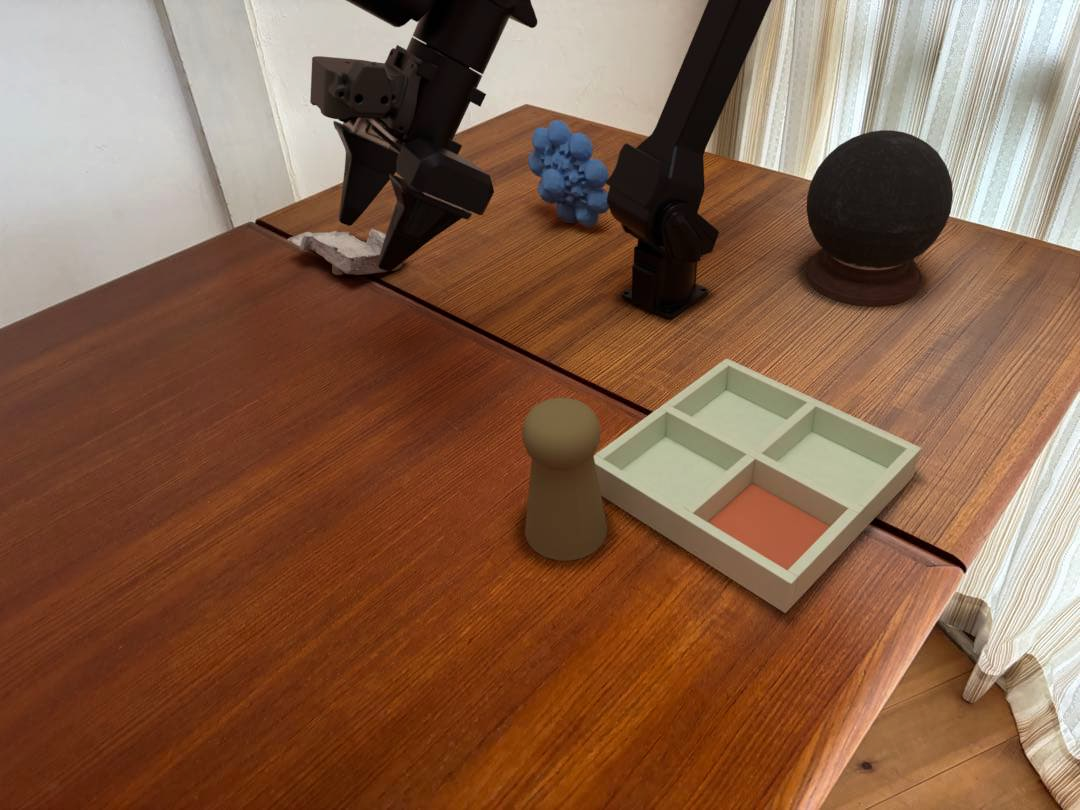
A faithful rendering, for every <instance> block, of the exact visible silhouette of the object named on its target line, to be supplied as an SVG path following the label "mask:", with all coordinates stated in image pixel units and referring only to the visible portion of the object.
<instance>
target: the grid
mask: <svg viewBox="0 0 1080 810" xmlns="http://www.w3.org/2000/svg"><path fill="white" fill-rule="evenodd" d="M921 451H922V447H921V446H919V445H917V444H914V443H912V442H910V441H907V440H906V439H903V438H901V437H899V436H896V435H895V434H892V433H890V432H888V431H886V430H884V429H881V428H879V427H877V426H875V425H873V424H870V423H868V422H866V421H864V420H862V419H860V418H858V417H855V416H853V415H852V414H849V413H846V412H845V411H843V410H840V409H838V408H836V407H834V406H831V405H829V404H828V403H825V402H822V401H820V400H818V399H816V398H814V397H812V396H810V395H808V394H805V393H803V392H801V391H799V390H796V389H795V388H792V387H791V386H788V385H786V384H783V383H781V382H779V381H777V380H774V379H773V378H770V377H768V376H766V375H764V374H762V373H760V372H758V371H755V370H753V369H750V368H749V367H746V366H745V365H742V364H740V363H738V362H735V361H733V360H731V359H729V358H725V359H724V360H722V361H721V362H719V363H717V364H716V365H715V366H713V368H711V369H709V370H708V371H707V372H706V373H704V374H702V375H701V376H700V377H699V378H698V379H696V380H695V381H693V382H692V383H691V384H690V385H688V386H687V387H685V388H684V389H683V390H681V391H679V392H678V393H677V394H675V395H674V396H673V397H671V398H670V399H669V400H667V401H666V402H665V403H663V404H662V405H660V406H659V407H658V408H657V409H655V410H654V411H652V412H651V413H650V414H648V415H647V416H646V417H644V418H643V419H641V420H640V421H638V422H637V423H636V424H635V425H633V426H631V428H629V429H628V430H626V431H625V432H624V433H622V434H621V435H620V436H618V437H616V438H615V439H614V440H612V441H611V442H610V443H608V444H607V445H606V446H604V447H603V448H602V449H601V450H599V451H598V452H597V453H595V454H594V461H595V466H596V471H597V476H598V481H599V487H600V492H601V497H602V498H604V499H605V500H607V501H609V502H610V503H612V504H613V505H615V506H617V507H618V508H620V509H621V510H623V511H624V512H626V513H628V514H629V515H630V516H632V517H633V518H636V520H638V521H640V522H642V523H643V524H645V525H646V526H648V527H649V528H651V529H653V530H654V531H656V532H657V533H659V534H660V535H662V536H664V538H666V539H668V540H670V541H671V542H673V543H674V544H676V545H677V546H679V547H680V548H682V549H683V550H685V551H687V552H688V553H690V554H692V555H693V556H695V557H697V558H698V559H699V560H701V561H702V562H703V563H706V564H707V565H708V566H710V567H712V568H713V569H714V570H717V571H718V572H719V573H721V574H723V575H724V576H726V577H727V578H729V579H731V580H732V581H734V582H735V583H736V584H739V585H740V586H741V587H743V588H745V589H746V590H748V591H750V592H751V593H752V594H754V595H755V596H757V597H759V598H760V599H762V600H763V601H765V602H766V603H768V604H770V605H771V606H772V607H774V608H775V609H778V610H779V611H781V612H782V613H784V614H787V613H788V611H789V610H790V609H791V608H792V607H793V606H794V605H796V603H797V602H798V601H799V600H800V599H801V597H803V596H804V594H805V593H806V592H807V591H808V590H809V589H810V588H811V587H812V586H813V585H814V584H815V582H817V581H818V580H819V578H821V576H822V575H823V574H824V573H825V572H826V571H827V570H828V569H829V568H830V566H831V565H833V563H835V561H836V560H837V559H838V558H839V557H840V556H841V555H842V554H843V553H844V552H845V550H846V549H848V547H849V546H850V545H851V544H852V543H853V542H854V541H855V540H856V539H857V538H858V537H859V536H860V534H862V532H864V530H865V529H866V528H867V527H868V526H869V525H870V524H871V523H872V522H873V521H874V520H875V519H876V518H877V516H878V515H879V514H880V513H881V512H882V511H883V510H884V509H885V508H886V507H887V506H888V505H889V504H890V503H891V502H892V501H893V499H894V498H895V497H896V496H897V495H898V494H899V493H900V491H902V490H903V489H904V488H905V487H906V485H907V484H908V483H910V481H911V480H912V479H913V478H914V475H915V471H916V468H917V465H918V461H919V459H920V455H921Z"/></svg>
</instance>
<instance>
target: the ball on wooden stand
mask: <svg viewBox="0 0 1080 810" xmlns="http://www.w3.org/2000/svg"><path fill="white" fill-rule="evenodd" d="M807 191H808V192H807V195H806V215H807V221H808V226H809V228H810V231H811V233H812V236H813V237H814V239H815V241H816V243H817V244H818V245H819V246H820V247H821V248H820V249H818V250H817V251H816V252H815V254H813V255H811V257H810V258H809V259H808V261H807V263H806V266H805V278H806V280H807V283H808V284H809V285H810V286H811V287H812V288H813V289H814V290H816V291H817V292H818V294H821V295H823V296H825V297H826V298H829V299H832V300H835V301H837V302H839V303H840V302H841V303H844V304H848V305H854V306H860V307H861V306H862V307H886V306H892V305H893V306H894V305H898V304H900V303H903V302H906V301H908V300H910V299H912V298H913V297H914V296H915V295H916V294H917V293H918V291H919V290H920V288H921V284H922V278H923V277H922V273H921V270H920V269H919V267H918V265H917V263H916V261H915V259H916V258H917V257H919V256H921V255H923V254H924V253H925V252H926V251H927V250H928V249H929V248H930V247H931V246H932V245H933V244H934V243H935V242H936V241H937V239H938V238H939V237H940V235H941V233H942V232H943V230H944V229H945V227H946V226H947V223H948V220H949V218H950V216H951V212H952V207H953V206H952V205H953V198H954V190H953V180H952V178H951V175H950V172H949V169H948V166H947V164H946V163H945V161H944V160H943V158H942V156H941V155H940V154H939V152H938V151H937V150H936V149H935V148H934V147H932V146H931V145H930V143H928V142H926V141H925V140H923V139H921V138H919V137H917V136H915V135H912V134H910V133H908V132H904V131H899V130H893V129H892V130H886V129H885V130H884V129H881V130H872V131H869V132H865V133H861V134H859V135H856V136H853V137H851V138H850V139H848V140H846V141H844V142H843V143H841V144H839V145H837V146H836V148H834V149H833V150H832V151H831V152H829V153H828V154H827V156H826V157H825V158H824V159H823V161H821V163H820V165H819V166H818V167H817V169H816V171H815V173H814V174H813V177H812V179H811V181H810V184H809V187H808V190H807Z"/></svg>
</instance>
